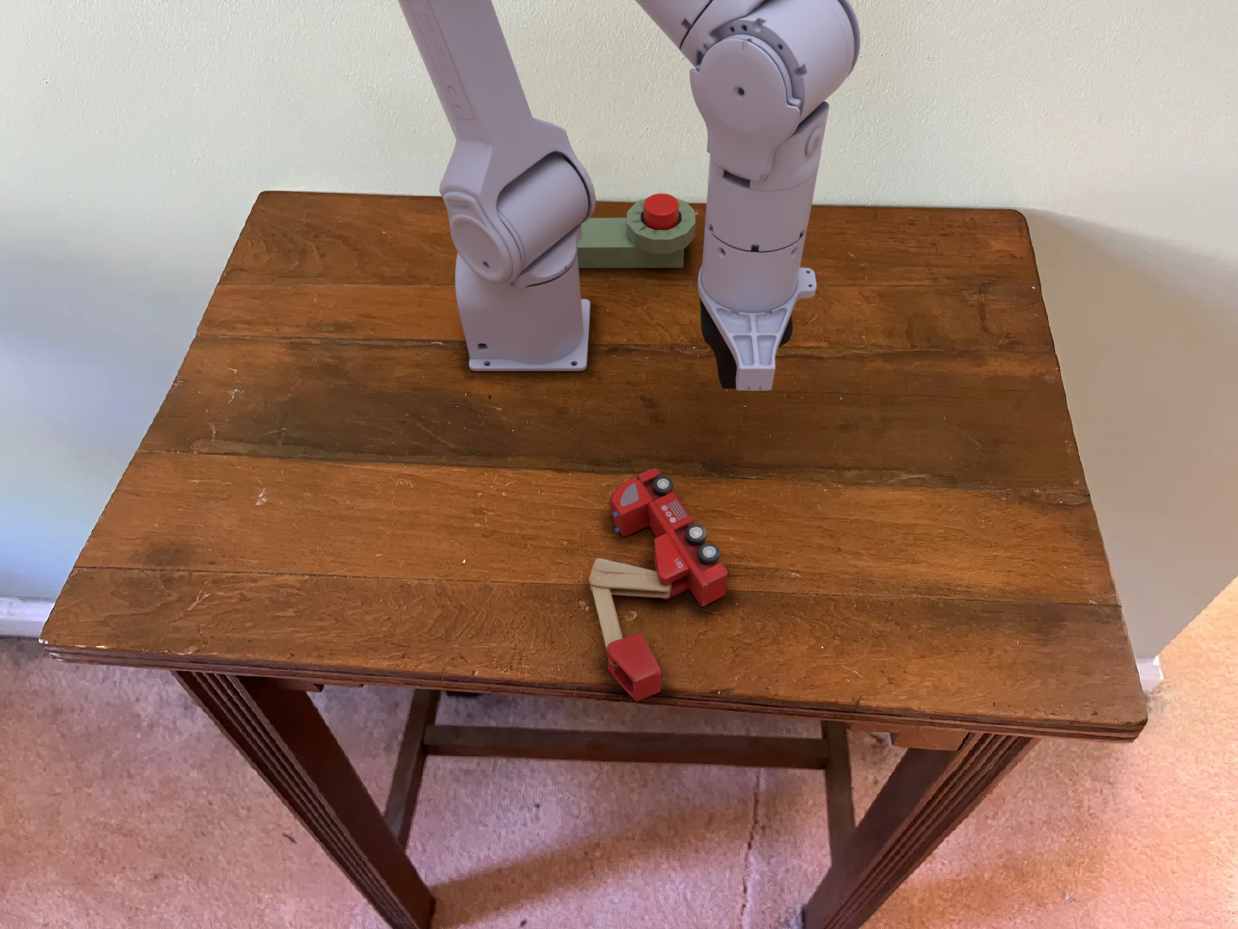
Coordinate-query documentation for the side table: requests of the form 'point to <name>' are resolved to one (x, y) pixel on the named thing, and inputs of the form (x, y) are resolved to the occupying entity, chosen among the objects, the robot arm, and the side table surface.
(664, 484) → the toy fire truck
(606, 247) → the button box
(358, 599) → the side table surface
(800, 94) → the robot arm
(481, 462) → the side table surface
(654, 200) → the button
